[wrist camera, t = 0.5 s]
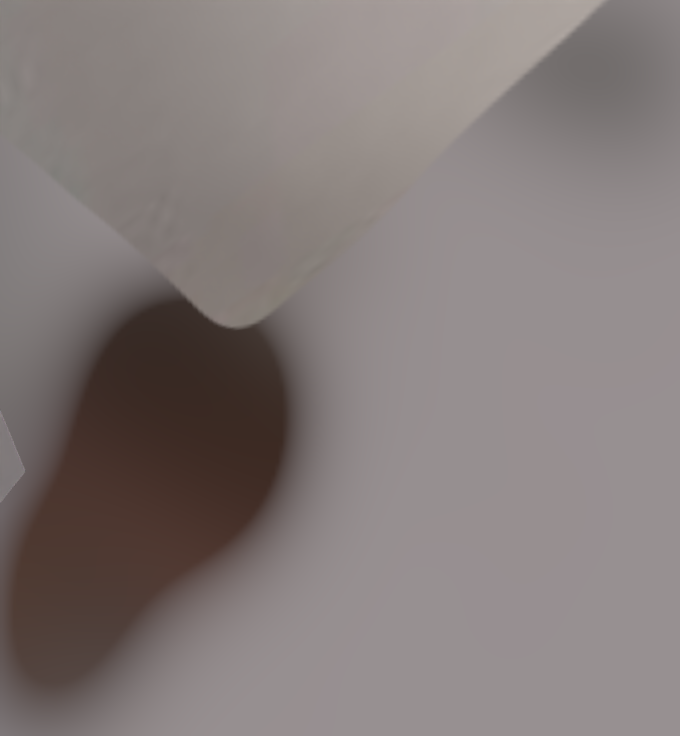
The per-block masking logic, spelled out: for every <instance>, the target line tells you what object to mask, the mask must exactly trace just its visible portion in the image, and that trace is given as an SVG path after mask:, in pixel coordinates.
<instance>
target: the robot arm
mask: <svg viewBox="0 0 680 736" xmlns="http://www.w3.org/2000/svg"><path fill="white" fill-rule="evenodd" d="M24 473H25V469H24V466H23V464H22V462H21V459H20V457H19V454H18V452H17V449H16V447H15V444H14V442H13V439H12V437H11V434H10V432H9V430H8V427H7V425H6V422H5V420H4V418H3V415H2V413H1V410H0V503H1V501H2V500H3V499H4V498H5V496H6V495H7V494H8V493H9V491H10V490H11V488H13V486H14V485H15V484H16V483H17V481H18V480H19V479H20V478H21V476H22V475H23V474H24Z"/></svg>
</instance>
